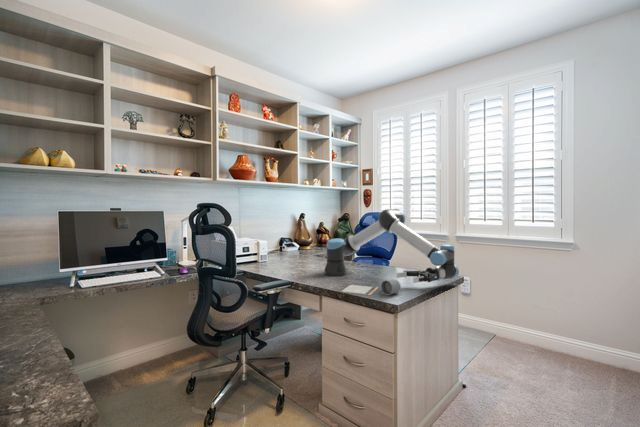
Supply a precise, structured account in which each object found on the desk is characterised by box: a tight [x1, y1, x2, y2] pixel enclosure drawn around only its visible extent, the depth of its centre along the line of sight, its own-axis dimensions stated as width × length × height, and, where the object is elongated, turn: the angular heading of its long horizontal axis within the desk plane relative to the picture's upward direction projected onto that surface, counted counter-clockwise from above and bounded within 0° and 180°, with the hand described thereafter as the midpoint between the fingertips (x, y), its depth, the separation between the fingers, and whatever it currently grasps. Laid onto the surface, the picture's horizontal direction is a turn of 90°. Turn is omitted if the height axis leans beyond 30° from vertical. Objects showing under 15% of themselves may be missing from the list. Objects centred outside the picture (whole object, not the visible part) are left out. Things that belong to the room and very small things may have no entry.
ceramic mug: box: [379, 279, 402, 296], centre depth 173 cm, size 11×8×8 cm
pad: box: [341, 284, 374, 296], centre depth 180 cm, size 15×13×1 cm
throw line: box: [367, 286, 380, 297], centre depth 176 cm, size 17×2×1 cm, turn 155°
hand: (404, 277), depth 176 cm, fingers open, 13 cm apart
